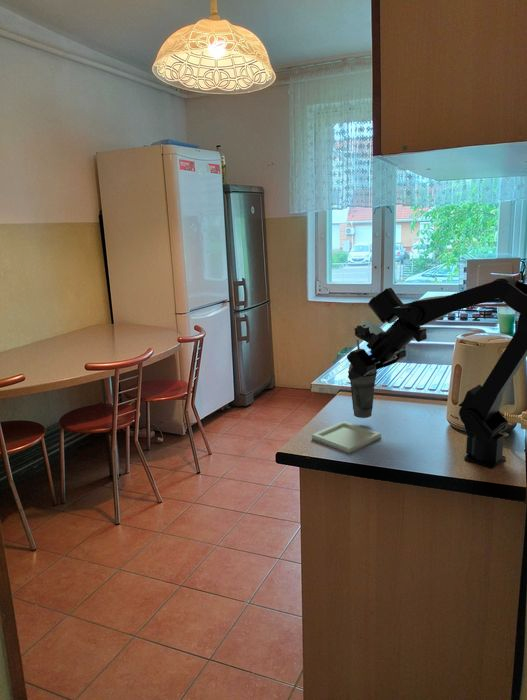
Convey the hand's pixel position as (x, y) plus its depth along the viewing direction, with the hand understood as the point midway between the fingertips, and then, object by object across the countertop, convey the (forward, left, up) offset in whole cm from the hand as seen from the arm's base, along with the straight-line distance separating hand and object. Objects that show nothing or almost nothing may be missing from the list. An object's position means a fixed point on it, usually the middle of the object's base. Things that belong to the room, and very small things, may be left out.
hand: (357, 374), depth 135 cm
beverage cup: (-1, 0, -11) cm, 11 cm away
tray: (-4, +10, -13) cm, 17 cm away
